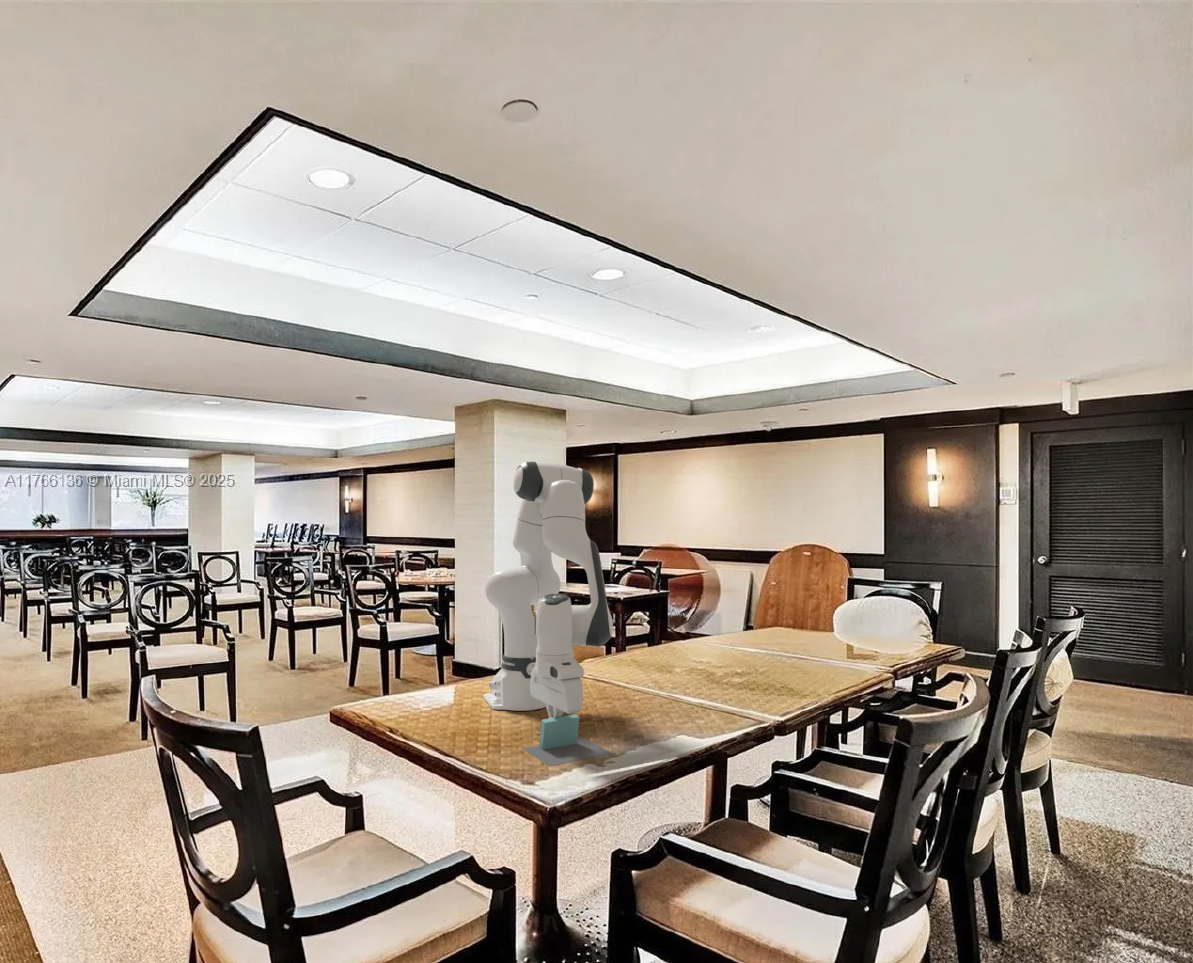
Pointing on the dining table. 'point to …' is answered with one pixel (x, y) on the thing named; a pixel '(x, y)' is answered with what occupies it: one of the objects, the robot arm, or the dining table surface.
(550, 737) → the box
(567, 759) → the mat
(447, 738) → the dining table surface
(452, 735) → the dining table surface
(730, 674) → the dining table surface
